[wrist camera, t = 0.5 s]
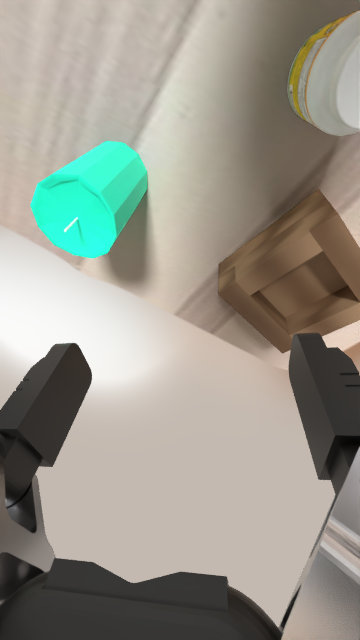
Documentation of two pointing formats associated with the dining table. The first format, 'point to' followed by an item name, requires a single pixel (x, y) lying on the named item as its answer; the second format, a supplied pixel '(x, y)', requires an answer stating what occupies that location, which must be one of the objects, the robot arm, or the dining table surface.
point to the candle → (91, 199)
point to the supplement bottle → (329, 77)
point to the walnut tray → (296, 275)
